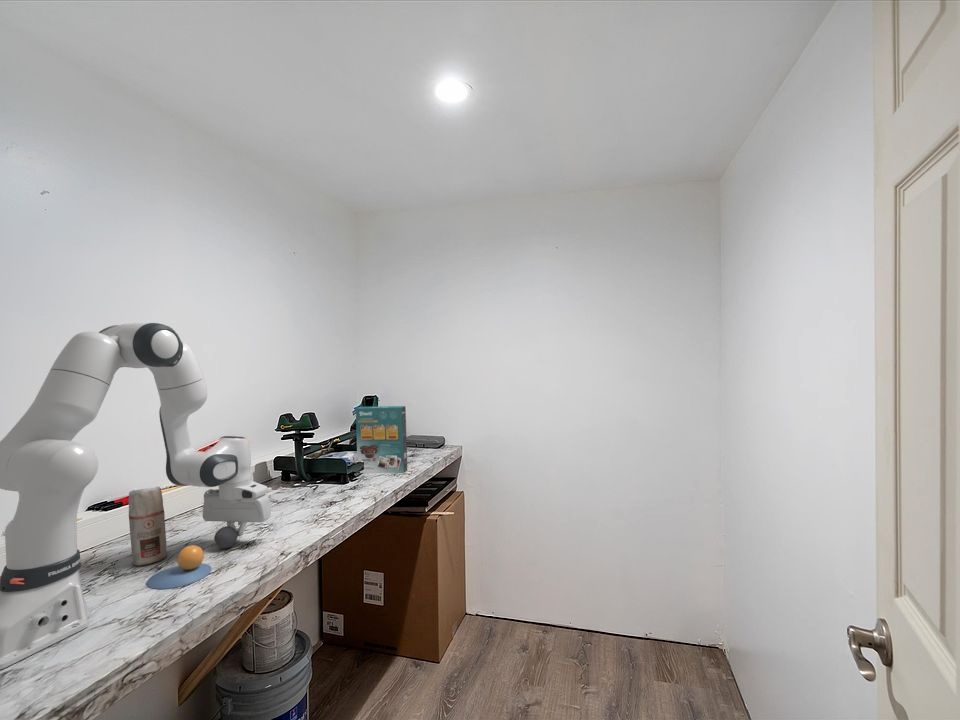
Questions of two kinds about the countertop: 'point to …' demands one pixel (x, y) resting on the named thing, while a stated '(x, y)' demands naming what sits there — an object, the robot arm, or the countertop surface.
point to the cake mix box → (382, 439)
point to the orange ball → (190, 557)
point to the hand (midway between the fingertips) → (237, 535)
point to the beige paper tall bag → (147, 526)
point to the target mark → (177, 577)
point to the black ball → (225, 537)
